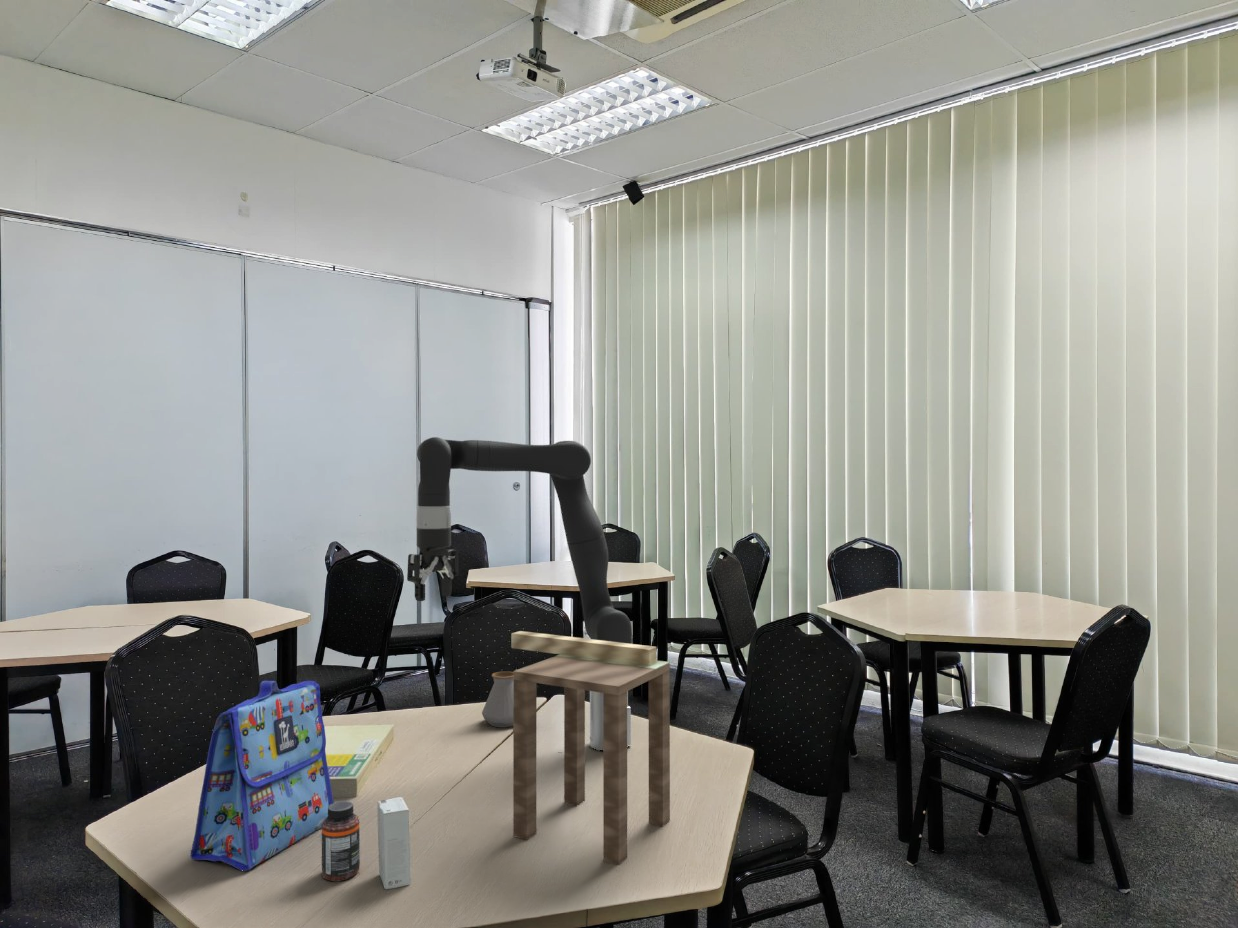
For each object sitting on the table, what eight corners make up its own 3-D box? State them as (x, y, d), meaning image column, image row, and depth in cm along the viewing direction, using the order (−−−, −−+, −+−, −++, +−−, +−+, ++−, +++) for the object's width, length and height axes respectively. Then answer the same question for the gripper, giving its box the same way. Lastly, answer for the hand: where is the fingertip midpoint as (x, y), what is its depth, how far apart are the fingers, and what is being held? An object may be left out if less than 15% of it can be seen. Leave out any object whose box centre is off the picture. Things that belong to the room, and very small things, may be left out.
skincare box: (411, 884, 129) (411, 808, 129) (383, 891, 127) (383, 814, 127) (404, 867, 135) (404, 795, 135) (376, 873, 133) (376, 799, 133)
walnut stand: (513, 836, 146) (513, 670, 147) (572, 797, 164) (572, 649, 164) (618, 864, 136) (618, 686, 136) (669, 820, 153) (669, 661, 153)
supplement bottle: (327, 865, 135) (327, 798, 136) (363, 864, 136) (363, 796, 136) (316, 883, 129) (317, 812, 130) (354, 881, 130) (354, 811, 130)
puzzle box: (395, 742, 200) (296, 743, 198) (395, 723, 200) (296, 724, 199) (356, 801, 164) (235, 803, 162) (356, 778, 164) (235, 780, 162)
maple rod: (511, 647, 166) (511, 633, 166) (520, 645, 169) (520, 630, 169) (649, 665, 151) (649, 649, 151) (656, 662, 153) (656, 646, 153)
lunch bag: (249, 873, 133) (250, 698, 133) (187, 860, 137) (189, 691, 138) (338, 820, 153) (338, 669, 153) (281, 810, 158) (282, 663, 158)
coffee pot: (481, 730, 207) (481, 672, 207) (482, 717, 218) (482, 661, 218) (564, 726, 210) (564, 669, 210) (560, 713, 222) (560, 659, 222)
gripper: (424, 528, 173) (424, 603, 173) (467, 524, 185) (467, 595, 185) (398, 527, 177) (398, 601, 176) (442, 523, 189) (442, 592, 189)
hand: (433, 598), depth 181 cm, fingers open, 8 cm apart
